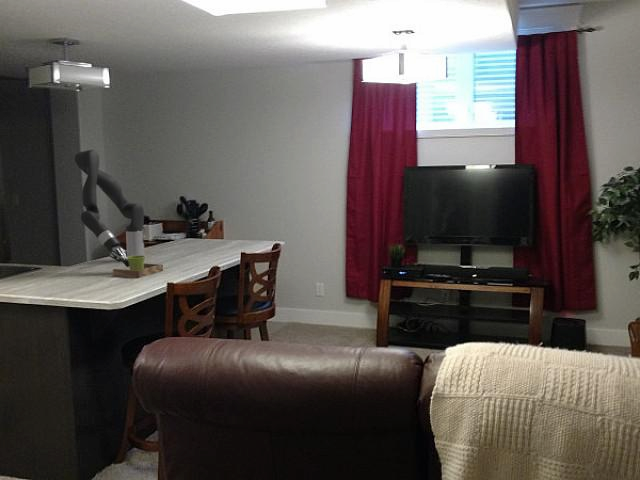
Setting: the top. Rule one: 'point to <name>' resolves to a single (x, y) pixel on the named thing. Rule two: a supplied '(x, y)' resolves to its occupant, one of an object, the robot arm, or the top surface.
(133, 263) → the plant pot
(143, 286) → the top surface
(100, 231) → the robot arm
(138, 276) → the wooden u bracket
